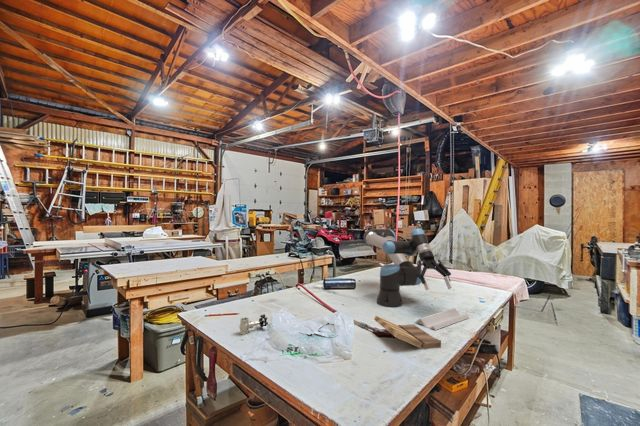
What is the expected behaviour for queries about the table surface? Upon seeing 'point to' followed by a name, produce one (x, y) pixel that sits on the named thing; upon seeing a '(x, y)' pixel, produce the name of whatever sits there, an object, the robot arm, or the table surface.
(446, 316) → the crown molding
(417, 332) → the walnut floor board
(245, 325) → the valve
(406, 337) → the oak plank
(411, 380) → the table surface
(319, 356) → the table surface
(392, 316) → the table surface
